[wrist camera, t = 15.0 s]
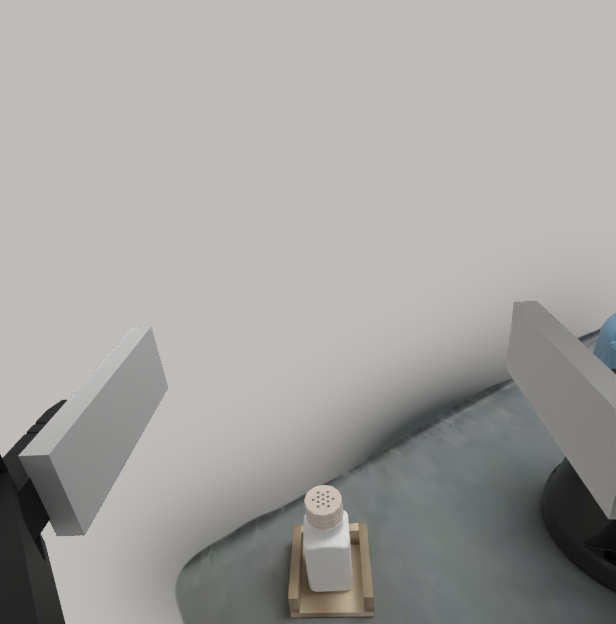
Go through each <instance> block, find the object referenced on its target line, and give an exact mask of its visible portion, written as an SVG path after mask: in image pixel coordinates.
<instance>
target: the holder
mask: <svg viewBox="0 0 616 624" xmlns="http://www.w3.org/2000/svg"><path fill="white" fill-rule="evenodd" d="M349 533H350V545H351V559H352V572H353V585H352V588H351V589H350V590H347V591H326V592H314V591H312V590H311V588H310V586H309V582H308V575H307V568H306V561H305V554H304V547H303V525H294V529H293V541H292V554H291V566H290V579H289V591H288V602H289V608H290V613H291V618H294V617H365V616H374V599H373V588H372V577H371V567H370V556H369V545H368V535H367V524H366V523H353V524H349Z"/></svg>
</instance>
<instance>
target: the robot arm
mask: <svg viewBox="0 0 616 624" xmlns="http://www.w3.org/2000/svg"><path fill="white" fill-rule="evenodd" d="M506 369H507V371H508V372H509V374H510V375H511V377H512V378H513V380H514V381H515V383H516V384H517V386H518V387H519V388H520V390H521V391H522V393H523V394H524V396H525V397H526V399H527V400H528V402H529V403H530V405H531V406H532V408H533V409H534V410H535V412H536V413H537V415H538V416H539V418H540V419H541V421H542V422H543V424H544V425H545V427H546V428H547V430H548V431H549V432H550V434H551V435H552V437H553V438H554V440H555V441H556V443H557V444H558V446H559V447H560V449H561V450H562V452H563V453H564V454H565V456H566V457H565V458H564V460H563V461H562V462H561V464H559V465H558V466H557V467H556V468H555V469H554V470H553V471H552V473H551V474H550V476H549V477H548V480H547V482H546V485H545V490H544V495H543V501H542V512H543V517H544V520H545V523H546V526H547V528H548V530H549V532H550V534H551V535H552V537H553V539H554V540H555V542H556V543H557V544H558V546H559V547H560V548H561V549H562V551H563V552H564V553H565V554H566V555H567V556H568V557H569V558H570V559H571V560H572V561H573V562H574V563H575V564H576V565H578V566H579V567H580V568H581V569H582V570H584V571H585V572H586V573H587V574H589V575H590V576H592V577H593V578H595V579H596V580H598V581H599V582H601V583H602V584H604V585H606V586H607V587H609V588H611V589H613V590H615V591H616V313H615V314H613V315H612V316H611V317H609V319H607V321H606V322H605V323H604V324H603V326H602V328H601V330H600V333H599V337H598V340H597V343H596V347H595V350H594V353H592V352H591V351H590V350H589V349H588V348H587V347H586V346H585V345H584V344H583V343H581V342H580V341H579V340H578V339H577V338H576V337H575V336H574V335H573V334H572V333H571V332H570V331H569V330H567V329H566V328H565V327H564V326H563V325H562V324H561V323H560V322H559V321H558V320H557V319H556V318H555V317H554V316H552V315H551V314H550V313H549V312H548V311H547V310H546V309H545V308H544V307H543V306H542V305H541V304H540V303H538V302H537V301H525V302H514V306H513V315H512V324H511V332H510V341H509V349H508V358H507V367H506ZM167 389H168V386H167V382H166V378H165V375H164V371H163V367H162V364H161V360H160V356H159V353H158V349H157V346H156V342H155V338H154V335H153V331H152V327H137V328H131V329H130V330H129V331H128V333H126V335H125V336H124V337H123V338H122V339H121V340H120V342H119V343H118V344H117V345H116V346H115V347H114V348H113V350H111V352H110V353H109V354H108V355H107V356H106V357H105V358H104V360H103V361H102V362H101V363H100V364H99V365H98V366H97V367H96V369H95V370H94V371H93V372H92V373H91V374H90V375H89V376H88V378H87V379H86V380H85V381H84V382H83V383H82V384H81V386H80V387H79V388H78V389H77V390H76V391H75V392H74V393H73V395H72V396H71V397H70V398H69V399H68V400H62V401H60V402H59V403H57V404H56V405H54V406H53V407H51V408H50V409H48V410H47V411H46V412H45V413H44V414H43V415H42V416H41V417H40V418H39V419H38V420H37V421H36V424H35V425H33V426H32V427H31V428H30V429H29V430H28V431H27V434H26V435H24V436H23V437H22V438H21V439H20V440H19V441H18V442H17V443H16V444H15V445H14V447H12V449H11V450H10V451H9V452H8V453H7V454H6V455H5V456H4V457H3V458H2V457H1V455H0V624H65V620H64V617H63V612H62V609H61V605H60V601H59V597H58V593H57V589H56V585H55V581H54V577H53V573H52V569H51V565H50V561H49V557H48V553H47V549H46V545H45V542H44V540H43V538H42V536H41V534H40V533H41V532H42V530H43V528H44V527H45V526H46V524H47V523H48V521H50V523H51V525H52V527H53V529H54V531H55V533H56V535H57V536H74V535H85V534H86V532H87V530H88V528H89V527H90V525H91V523H92V522H93V520H94V518H95V516H96V514H97V513H98V511H99V509H100V507H101V506H102V504H103V502H104V500H105V499H106V497H107V495H108V493H109V491H110V490H111V488H112V486H113V484H114V483H115V481H116V479H117V477H118V475H119V474H120V472H121V470H122V468H123V467H124V465H125V463H126V461H127V459H128V458H129V456H130V454H131V452H132V450H133V449H134V447H135V445H136V443H137V442H138V440H139V438H140V437H141V435H142V433H143V431H144V429H145V428H146V426H147V424H148V422H149V421H150V419H151V417H152V415H153V414H154V412H155V410H156V408H157V407H158V405H159V403H160V401H161V399H162V398H163V396H164V394H165V392H166V391H167Z"/></svg>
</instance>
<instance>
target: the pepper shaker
mask: <svg viewBox="0 0 616 624" xmlns="http://www.w3.org/2000/svg"><path fill="white" fill-rule="evenodd" d="M304 503H305V511H306V514H305V516H304V525H303V547H304V554H305V561H306V568H307V575H308V582H309V586H310V588H311V590H312V591H314V592H326V591H347V590H350V589H351V588H352V585H353V572H352V559H351V545H350V533H349V521H348V514H347V512H346V511H344V510H343V502H342V497H341V495H340V492H339V491H338V490H337V489H335V488H334V487H332V486H327V485H320V486H317V487H314V488H312V489H311V490H310V491H309V492H308V493H307V494H306V497H305V500H304Z"/></svg>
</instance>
